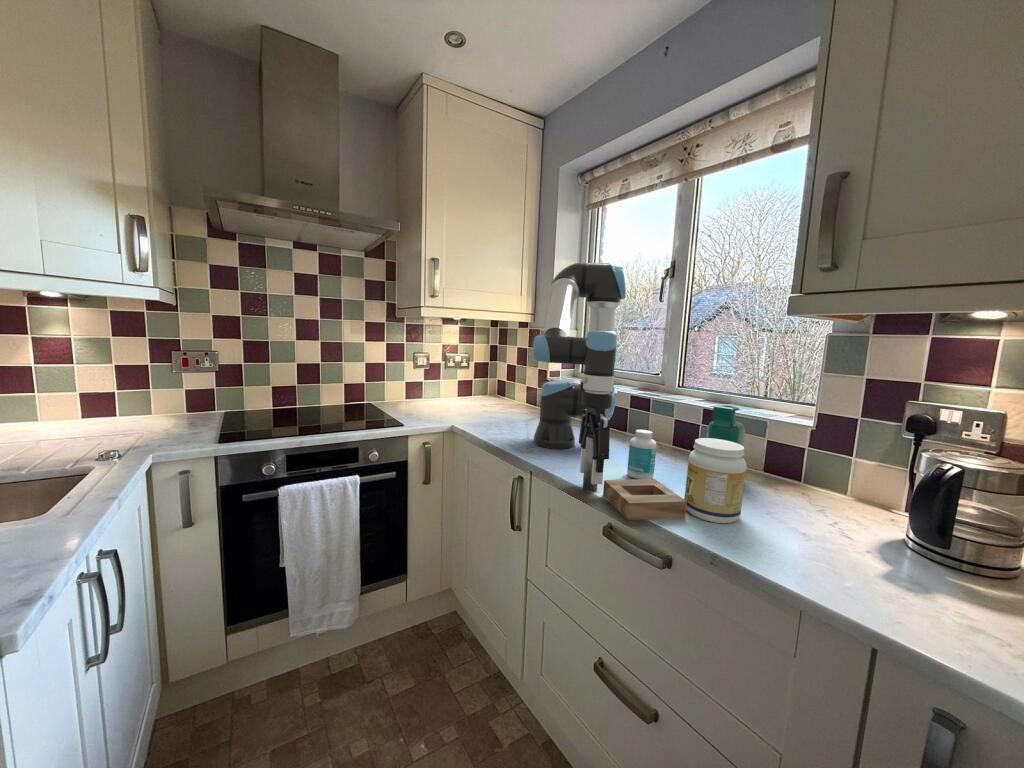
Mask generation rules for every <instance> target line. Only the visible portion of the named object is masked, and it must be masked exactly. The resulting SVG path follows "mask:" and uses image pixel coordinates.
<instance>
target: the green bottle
mask: <svg viewBox="0 0 1024 768" xmlns="http://www.w3.org/2000/svg"><path fill="white" fill-rule="evenodd" d="M739 410H740V408H739V407H737V406H735V405H713V410H712V411H713V412H712V421H711V422H709V424H708V426H707V434H706V438H713V439H721V440H727V441H731V442H734V443H737V444H740V445H742V446H743V447H744V442H745V434H746V428H745V425H744V424H743V423H741V422H738V421H736V412H737V411H739Z"/></svg>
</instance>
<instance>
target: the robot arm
mask: <svg viewBox="0 0 1024 768" xmlns="http://www.w3.org/2000/svg"><path fill="white" fill-rule="evenodd" d="M626 280H627V279H626V270H625V267H624V266H623V265H622V264H619V263H614V262H613V263H612V262H577V263H573V264H570V265H568V266H566V267H565V268H563V269H562V270H560V271H559V272H558V273H557V275H556V276H555V277H554V278H553V280H552V283H551V285H550V288H549V289H550V291H549V292H550V296H551V299H550V303H549V308H548V313H547V317H546V321H545V326H544V331H543V334H537V335H536V336H535V337H534V338H533V344H532V345H533V346H532V356H533V359H534V361H536V362H540V363H546V364H547V363H550V364H567V365H568V364H569V365H570V364H571V365H582V366H583V365H584V370H583V377H582V378H581V380H580V383H579V385H578V384H575V381H574V380H569V379H565V380H563V379H562V380H551V381H547V382H544V383H543V384H542V385H541V393H540V410H539V420H538V421H539V422H538V425H537V427H536V430H535V432H534V435H533V443H534V444H535V445H536V446H539V447H541V448H546V449H554V450H555V449H556V450H565V449H572V448H574V447H575V444H576V438H575V434H574V429H573V425H572V421H573V419H572V418H581V421H580V430H579V435H578V444H579V445H580V447H581V449H580V450H581V452H580V454H581V455H580V463H579V464H580V468H579V473H580V474H584V462H585V449H586V437H587V436H593V438H594V452H595V457H592V459H593V465H592V477H591V484H598V485H603V482H604V480H603V479H604V469H605V467H604V465H605V460H609V459H610V439H611V438H610V436H611V435H610V433H611V432H610V431H611V430H610V429H611V428H610V427H611V424H612V421H611V418H612V416H613V414H614V411H615V407H616V402H617V397H618V391H619V390H618V388H616V387H614V385H615V382H614V381H615V380H614V379H615V364H616V356H617V355H616V353H617V348H618V342H617V340H618V338H617V337H618V335H617V333H616V332H615V321H616V320H615V319H616V309H617V308H618V307H619V306H621V303H622V302H621V300H624V299H626V294H627V293H626V289H627V283H626ZM577 298H585V299H586V301H585V302H586V305H587V306H588V307H589V320H588V321H589V322H588V331H587V334H586V337H582V336H580V337H577V336H570V335H571V334H570V333H571V327H572V320H573V314H574V308H575V307H574V306H575V301H576V300H577Z"/></svg>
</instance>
